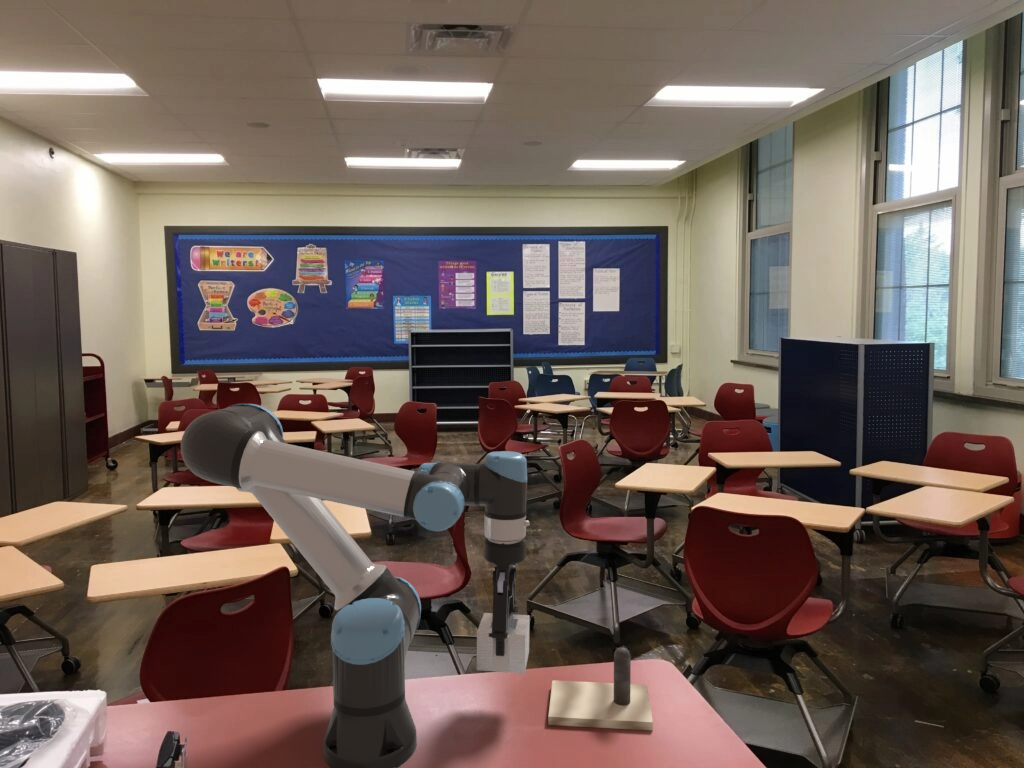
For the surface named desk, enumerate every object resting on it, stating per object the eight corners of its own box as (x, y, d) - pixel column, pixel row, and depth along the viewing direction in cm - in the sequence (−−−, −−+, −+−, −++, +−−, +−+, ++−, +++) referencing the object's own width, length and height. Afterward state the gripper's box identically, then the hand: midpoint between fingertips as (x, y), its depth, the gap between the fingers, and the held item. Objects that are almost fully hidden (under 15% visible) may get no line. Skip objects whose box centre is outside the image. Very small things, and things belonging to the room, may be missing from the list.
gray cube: (476, 670, 128) (476, 632, 128) (483, 648, 137) (484, 612, 136) (524, 673, 127) (525, 634, 127) (529, 651, 136) (529, 615, 135)
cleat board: (548, 724, 126) (548, 661, 125) (552, 687, 139) (552, 630, 138) (652, 730, 124) (653, 666, 123) (647, 692, 137) (647, 633, 136)
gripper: (520, 558, 119) (518, 689, 121) (531, 522, 140) (529, 635, 142) (475, 555, 120) (473, 686, 122) (492, 521, 141) (491, 632, 143)
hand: (503, 658), depth 132 cm, fingers closed on gray cube, 9 cm apart
